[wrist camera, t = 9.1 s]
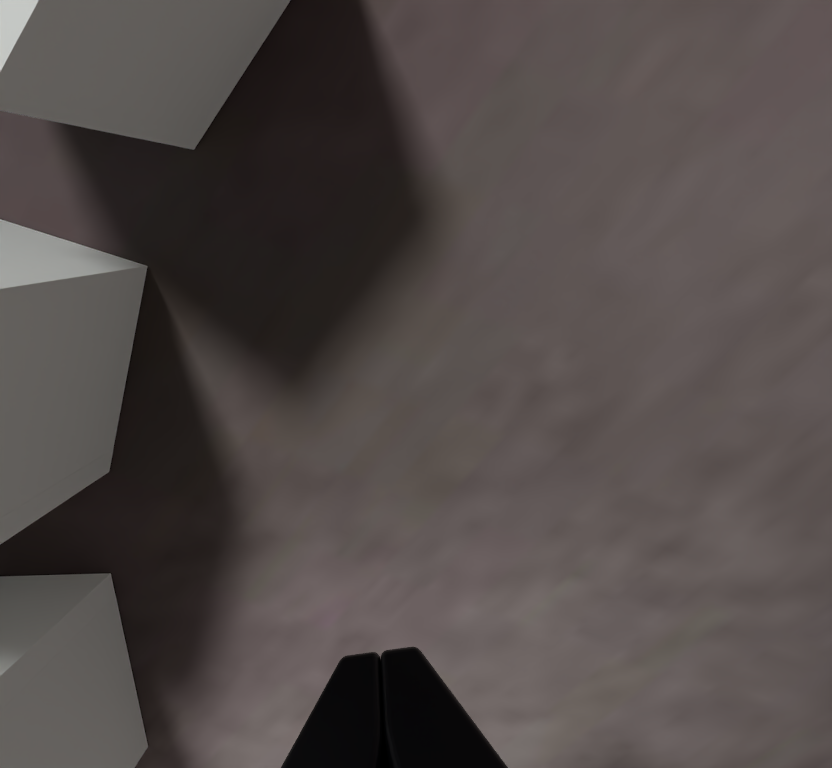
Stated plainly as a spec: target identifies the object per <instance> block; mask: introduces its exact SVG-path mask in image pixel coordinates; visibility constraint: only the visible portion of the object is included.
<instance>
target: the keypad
mask: <svg viewBox="0 0 832 768" xmlns="http://www.w3.org/2000/svg"><path fill="white" fill-rule="evenodd" d="M290 1H291V0H0V111H5V112H10V113H14V114H19V115H24V116H29V117H34V118H39V119H44V120H49V121H54V122H59V123H64V124H69V125H74V126H79V127H84V128H89V129H94V130H98V131H103V132H108V133H113V134H118V135H123V136H128V137H133V138H138V139H143V140H148V141H153V142H158V143H163V144H168V145H173V146H178V147H182V148H187V149H192V150H194V149H195V148H196V146H197V145H198V143H199V141H200V140H201V138H202V137H203V135H204V134H205V132H206V131H207V129H208V128H209V126H210V124H211V123H212V121H213V120H214V118H215V117H216V115H217V113H218V112H219V110H220V109H221V107H222V106H223V104H224V103H225V101H226V100H227V98H228V96H229V95H230V93H231V92H232V90H233V89H234V87H235V86H236V84H237V83H238V81H239V79H240V78H241V76H242V75H243V73H244V72H245V70H246V69H247V67H248V66H249V64H250V62H251V61H252V59H253V58H254V56H255V55H256V53H257V52H258V50H259V49H260V47H261V45H262V44H263V42H264V41H265V39H266V38H267V36H268V35H269V33H270V32H271V30H272V28H273V27H274V25H275V24H276V22H277V21H278V19H279V18H280V16H281V15H282V13H283V11H284V10H285V8H286V7H287V5H288V4H289V2H290ZM147 267H148V266H146V265H143V264H140V263H137V262H133V261H130V260H127V259H124V258H121V257H118V256H114V255H111V254H108V253H105V252H102V251H99V250H96V249H92V248H89V247H86V246H83V245H80V244H77V243H73V242H70V241H67V240H64V239H61V238H58V237H55V236H51V235H48V234H45V233H42V232H39V231H36V230H32V229H29V228H26V227H23V226H20V225H17V224H14V223H10V222H7V221H4V220H1V219H0V544H2V543H3V542H5V541H6V540H8V539H9V538H11V537H12V536H14V535H15V534H17V533H18V532H20V531H21V530H23V529H24V528H26V527H27V526H29V525H30V524H32V523H33V522H35V521H36V520H38V519H39V518H41V517H42V516H44V515H45V514H47V513H48V512H50V511H51V510H53V509H54V508H56V507H57V506H59V505H60V504H62V503H63V502H65V501H66V500H68V499H69V498H71V497H72V496H74V495H75V494H77V493H78V492H80V491H81V490H83V489H84V488H86V487H87V486H89V485H90V484H92V483H93V482H95V481H96V480H98V479H99V478H101V477H102V476H104V475H105V474H107V473H108V472H109V471H110V465H111V460H112V455H113V448H114V443H115V437H116V432H117V427H118V421H119V416H120V411H121V405H122V400H123V395H124V389H125V384H126V379H127V373H128V368H129V363H130V357H131V352H132V347H133V341H134V336H135V330H136V325H137V320H138V314H139V309H140V304H141V298H142V293H143V288H144V283H145V277H146V272H147ZM147 748H148V744H147V739H146V734H145V730H144V725H143V720H142V715H141V711H140V706H139V702H138V697H137V692H136V688H135V683H134V678H133V674H132V669H131V664H130V660H129V655H128V651H127V646H126V641H125V637H124V632H123V627H122V623H121V618H120V613H119V609H118V604H117V600H116V595H115V591H114V586H113V581H112V577H111V573H102V574H68V575H33V576H0V768H135V766H136V765H137V763H138V762H139V760H140V759H141V757H142V756H143V754H144V753H145V751H146V749H147Z"/></svg>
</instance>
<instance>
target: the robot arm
mask: <svg viewBox="0 0 832 768" xmlns="http://www.w3.org/2000/svg"><path fill="white" fill-rule="evenodd" d="M281 768H508V767H507V766H506V765H505V763H504V762H503V761H502V759H501V758H500V757H499V755H498V754H497V753H496V751H495V750H494V749H493V747H492V746H491V745H490V743H489V742H488V741H487V739H486V738H485V736H484V735H483V734H482V732H481V731H480V730H479V728H478V727H477V726H476V724H475V723H474V722H473V720H472V719H471V718H470V716H469V715H468V714H467V712H466V711H465V710H464V708H463V707H462V706H461V704H460V703H459V702H458V700H457V699H456V698H455V696H454V695H453V694H452V692H451V691H450V690H449V688H448V687H447V686H446V684H445V683H444V682H443V680H442V679H441V678H440V676H439V675H438V674H437V672H436V671H435V670H434V668H433V667H432V665H431V664H430V663H429V661H428V660H427V659H426V657H425V656H424V655H423V653H422V652H421V651H420V650H419V649H418V648H416V647H407V648H400V649H392V650H386V651H384V652H383V653H382V655H381V659H380V656H379V655H378V654H377V653H375V652H370V653H363V654H356V655H348V656H345V657H343V658H342V659H341V660H340V662H339V663H338V665H337V667H336V669H335V671H334V672H333V674H332V676H331V678H330V680H329V681H328V683H327V685H326V687H325V689H324V691H323V692H322V694H321V696H320V698H319V700H318V701H317V703H316V705H315V707H314V709H313V711H312V712H311V714H310V716H309V718H308V720H307V721H306V723H305V725H304V727H303V729H302V731H301V732H300V734H299V736H298V738H297V740H296V741H295V743H294V745H293V747H292V749H291V750H290V752H289V754H288V756H287V758H286V760H285V761H284V763H283V765H282V767H281Z"/></svg>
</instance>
